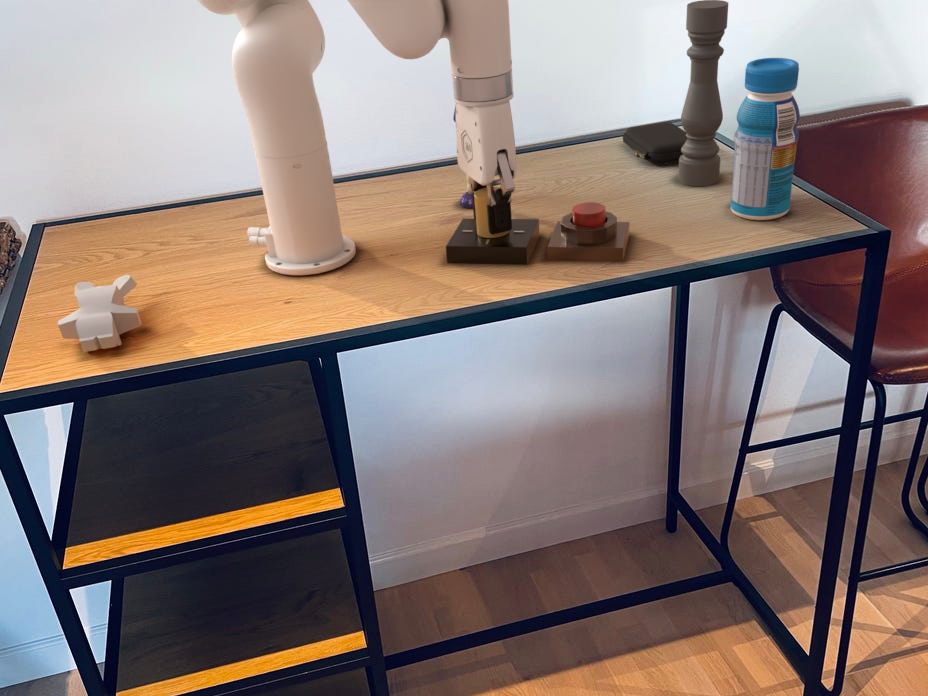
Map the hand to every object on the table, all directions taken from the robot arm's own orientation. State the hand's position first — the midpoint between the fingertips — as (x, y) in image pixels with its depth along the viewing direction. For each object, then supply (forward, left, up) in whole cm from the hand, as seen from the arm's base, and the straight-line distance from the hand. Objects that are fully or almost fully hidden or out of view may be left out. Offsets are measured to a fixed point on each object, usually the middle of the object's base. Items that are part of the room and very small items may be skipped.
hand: (492, 224), depth 134 cm
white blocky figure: (-45, -27, -4) cm, 52 cm away
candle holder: (+26, +28, -4) cm, 39 cm away
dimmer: (0, 0, -4) cm, 4 cm away
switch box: (+13, +1, -4) cm, 14 cm away
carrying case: (+19, +41, -4) cm, 46 cm away
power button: (+13, +1, 0) cm, 13 cm away
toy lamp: (-7, +17, -4) cm, 19 cm away
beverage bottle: (+35, +15, -4) cm, 39 cm away
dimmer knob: (0, 0, -1) cm, 1 cm away
